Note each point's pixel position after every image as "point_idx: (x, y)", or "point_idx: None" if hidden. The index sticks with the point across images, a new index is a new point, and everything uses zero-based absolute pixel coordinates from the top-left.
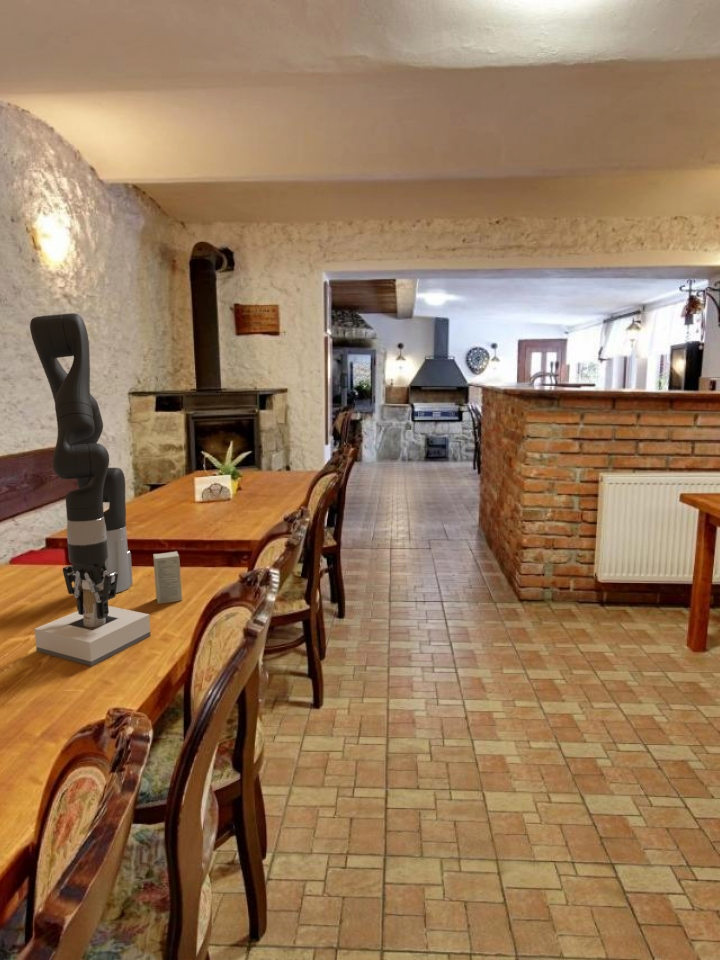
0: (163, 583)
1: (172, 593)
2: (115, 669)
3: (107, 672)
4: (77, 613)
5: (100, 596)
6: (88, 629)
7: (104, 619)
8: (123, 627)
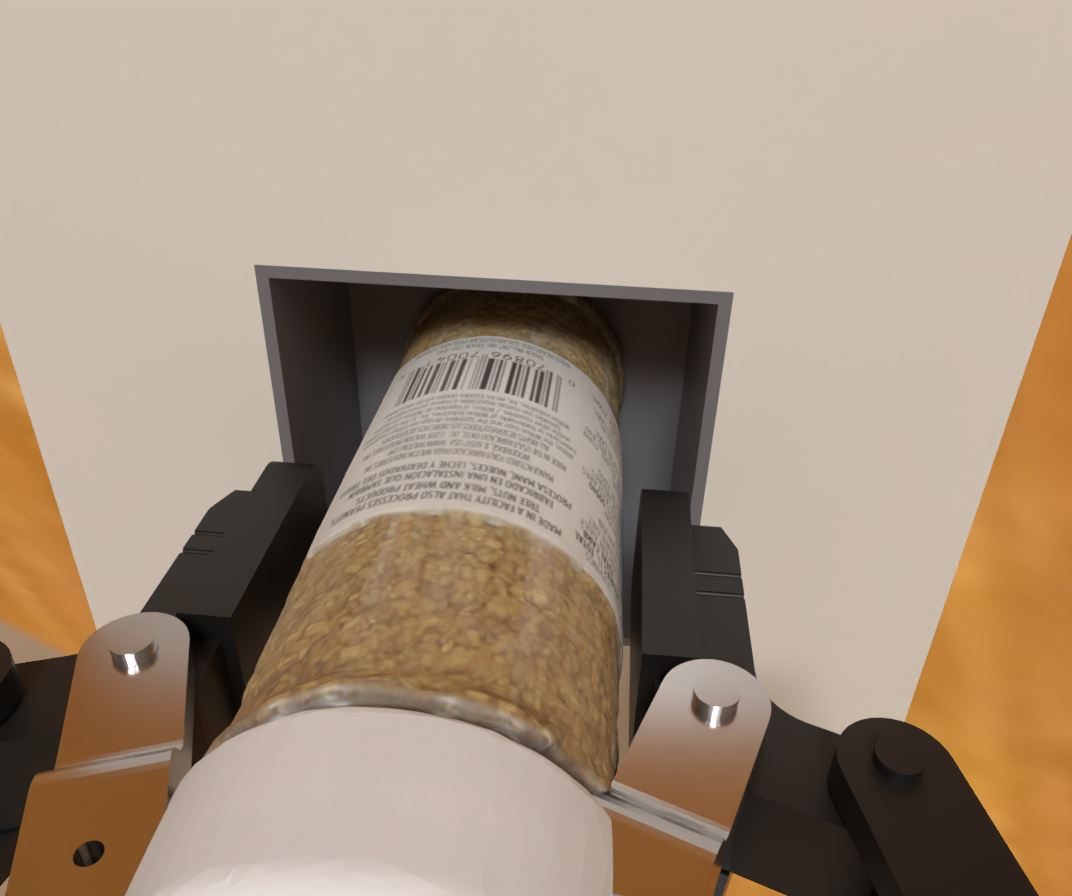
0: None
1: None
2: (1055, 634)
3: (1017, 678)
4: (75, 360)
5: (725, 879)
6: (623, 642)
7: (613, 441)
8: (983, 479)
